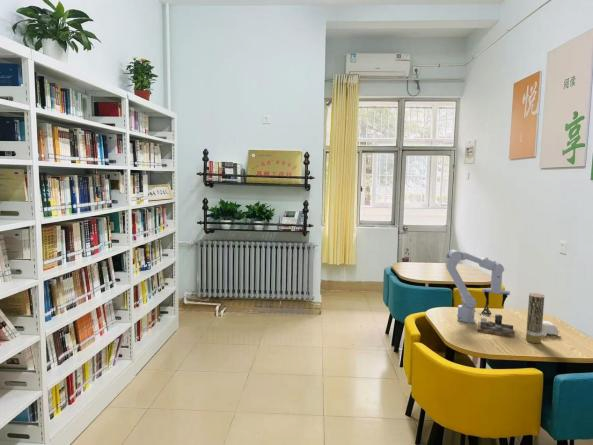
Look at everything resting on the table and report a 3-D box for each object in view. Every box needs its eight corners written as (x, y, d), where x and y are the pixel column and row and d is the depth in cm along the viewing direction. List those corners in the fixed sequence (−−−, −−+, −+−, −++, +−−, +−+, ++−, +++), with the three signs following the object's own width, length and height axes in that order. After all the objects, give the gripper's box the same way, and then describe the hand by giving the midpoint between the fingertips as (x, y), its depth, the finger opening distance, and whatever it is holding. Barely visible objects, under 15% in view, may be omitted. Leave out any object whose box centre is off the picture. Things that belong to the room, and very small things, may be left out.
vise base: (477, 331, 222) (477, 322, 222) (478, 324, 235) (478, 315, 234) (513, 337, 214) (514, 328, 214) (512, 329, 227) (513, 320, 226)
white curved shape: (546, 336, 226) (523, 326, 224) (552, 322, 225) (529, 313, 224) (556, 342, 217) (533, 332, 216) (563, 328, 217) (539, 318, 215)
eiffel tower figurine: (471, 310, 263) (472, 290, 262) (486, 310, 264) (487, 290, 263) (484, 318, 248) (485, 297, 247) (499, 317, 249) (500, 297, 248)
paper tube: (540, 340, 211) (543, 294, 209) (541, 344, 205) (545, 297, 203) (525, 338, 214) (528, 292, 212) (526, 342, 208) (529, 295, 205)
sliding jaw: (494, 329, 221) (495, 316, 220) (494, 325, 228) (495, 313, 227) (501, 330, 219) (502, 317, 219) (501, 326, 226) (502, 313, 226)
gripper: (482, 282, 236) (481, 305, 238) (510, 285, 230) (509, 308, 231) (483, 280, 243) (482, 302, 244) (510, 283, 236) (508, 305, 237)
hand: (495, 305), depth 238 cm, fingers open, 7 cm apart
